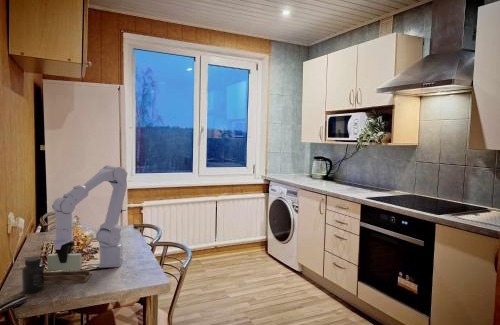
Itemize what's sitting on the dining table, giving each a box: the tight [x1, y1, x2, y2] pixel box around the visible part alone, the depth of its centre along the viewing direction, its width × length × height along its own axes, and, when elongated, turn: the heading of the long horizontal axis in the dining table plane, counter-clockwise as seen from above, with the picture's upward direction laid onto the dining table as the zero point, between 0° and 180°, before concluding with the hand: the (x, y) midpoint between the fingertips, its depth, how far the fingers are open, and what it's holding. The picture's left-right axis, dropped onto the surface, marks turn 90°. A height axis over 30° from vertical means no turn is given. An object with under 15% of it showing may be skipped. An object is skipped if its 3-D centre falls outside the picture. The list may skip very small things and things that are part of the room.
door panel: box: [46, 252, 83, 272], centre depth 137 cm, size 12×2×6 cm, turn 99°
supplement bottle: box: [21, 256, 45, 295], centre depth 127 cm, size 7×7×12 cm
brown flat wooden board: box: [44, 269, 93, 285], centre depth 137 cm, size 18×8×2 cm, turn 99°
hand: (64, 261), depth 137 cm, fingers closed on door panel, 2 cm apart
